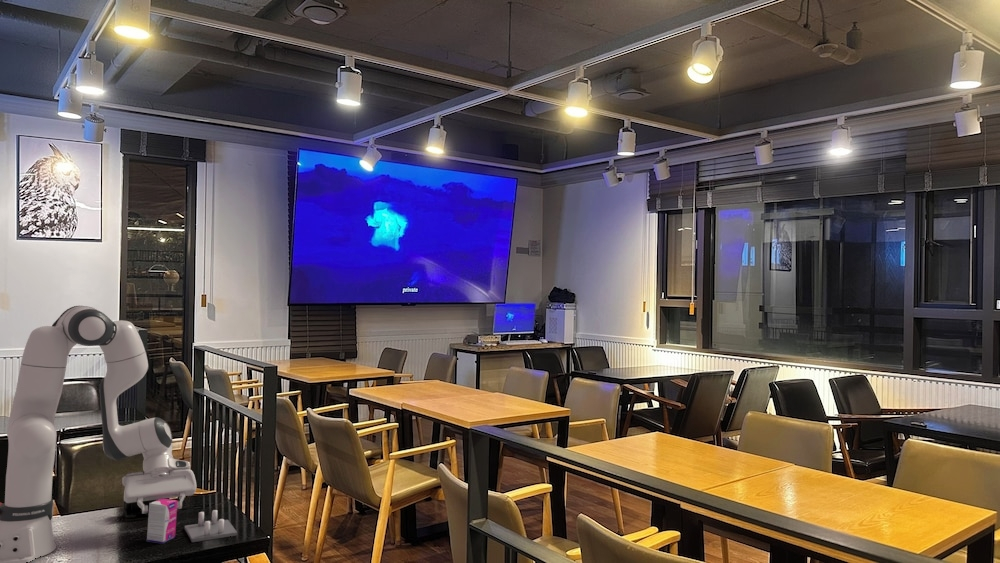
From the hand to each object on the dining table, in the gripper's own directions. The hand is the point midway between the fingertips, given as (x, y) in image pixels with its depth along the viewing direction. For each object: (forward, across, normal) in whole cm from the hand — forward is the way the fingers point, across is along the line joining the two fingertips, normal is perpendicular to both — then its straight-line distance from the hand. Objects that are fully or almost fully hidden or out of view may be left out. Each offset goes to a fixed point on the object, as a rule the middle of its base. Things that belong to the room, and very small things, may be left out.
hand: (162, 510), depth 214 cm
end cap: (-11, -3, +23) cm, 26 cm away
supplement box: (+7, 0, +5) cm, 9 cm away
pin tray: (+7, +14, +5) cm, 16 cm away
